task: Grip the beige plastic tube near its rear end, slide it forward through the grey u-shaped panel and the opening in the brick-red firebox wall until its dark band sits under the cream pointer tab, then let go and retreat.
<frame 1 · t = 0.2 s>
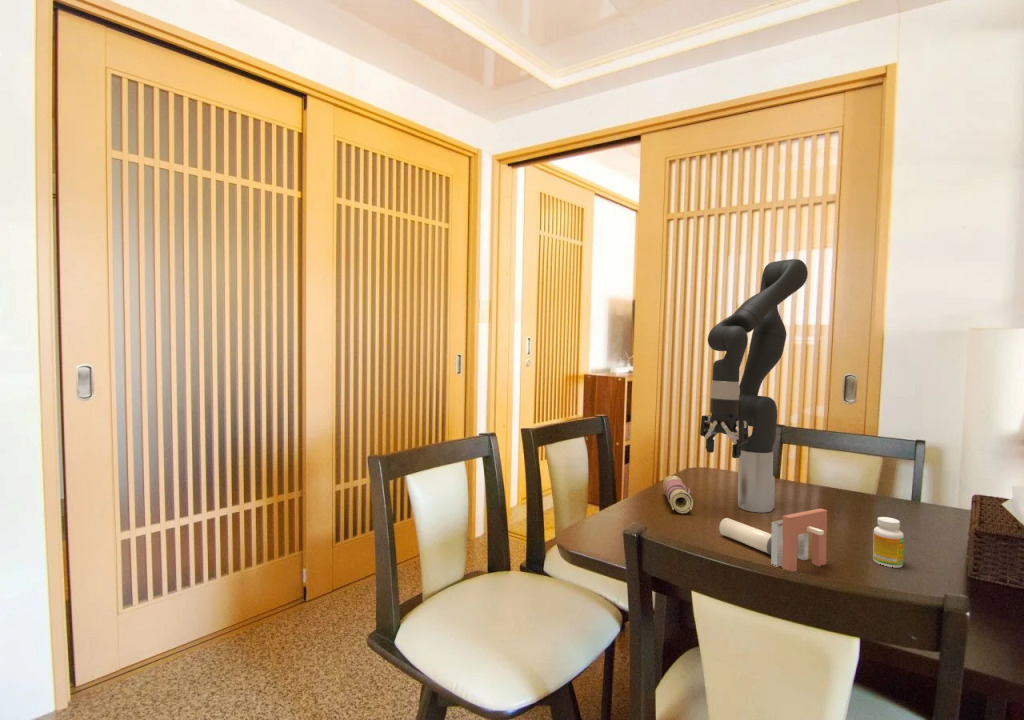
hand: (722, 455, 147), 17 cm above the table, tool pointing down, fingers open, 8 cm apart
supplement bottle: (887, 564, 115), on the table
air tube: (752, 546, 125), on the table
scroll: (678, 506, 157), on the table
firebox wall: (804, 568, 113), on the table
grey u-shaped panel: (789, 562, 116), on the table
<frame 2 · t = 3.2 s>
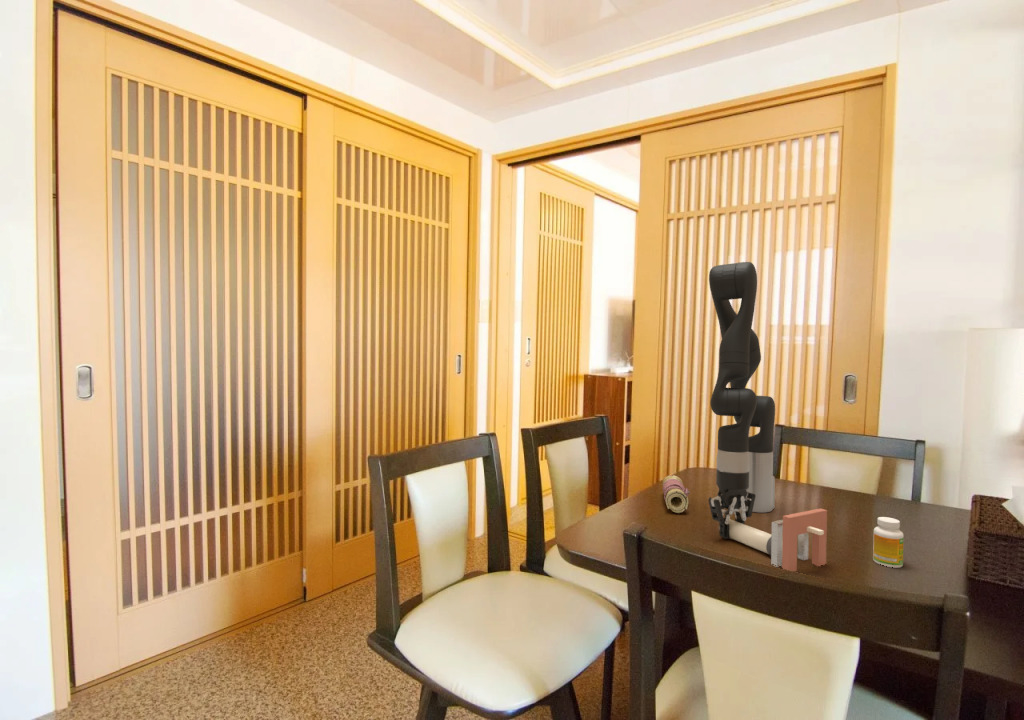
hand: (731, 535, 130), 1 cm above the table, tool pointing down, fingers closed on air tube, 4 cm apart
air tube: (752, 546, 125), on the table, touching gripper
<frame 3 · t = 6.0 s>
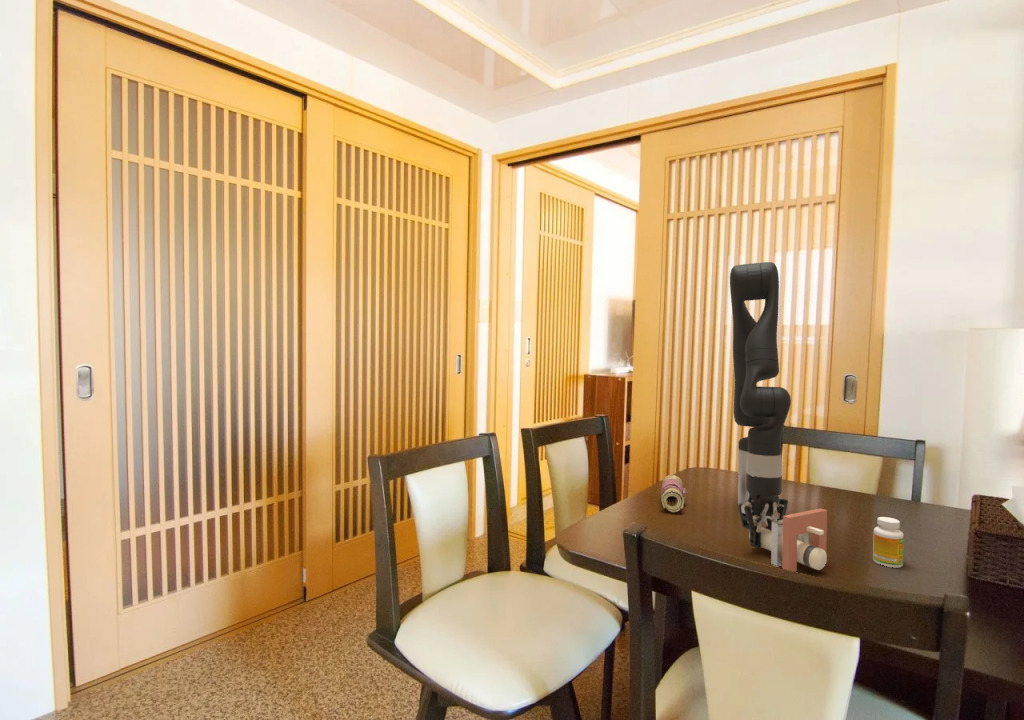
hand: (763, 544, 122), 1 cm above the table, tool pointing down, fingers closed on air tube, 4 cm apart
air tube: (786, 555, 117), point 1 cm above the table, touching gripper
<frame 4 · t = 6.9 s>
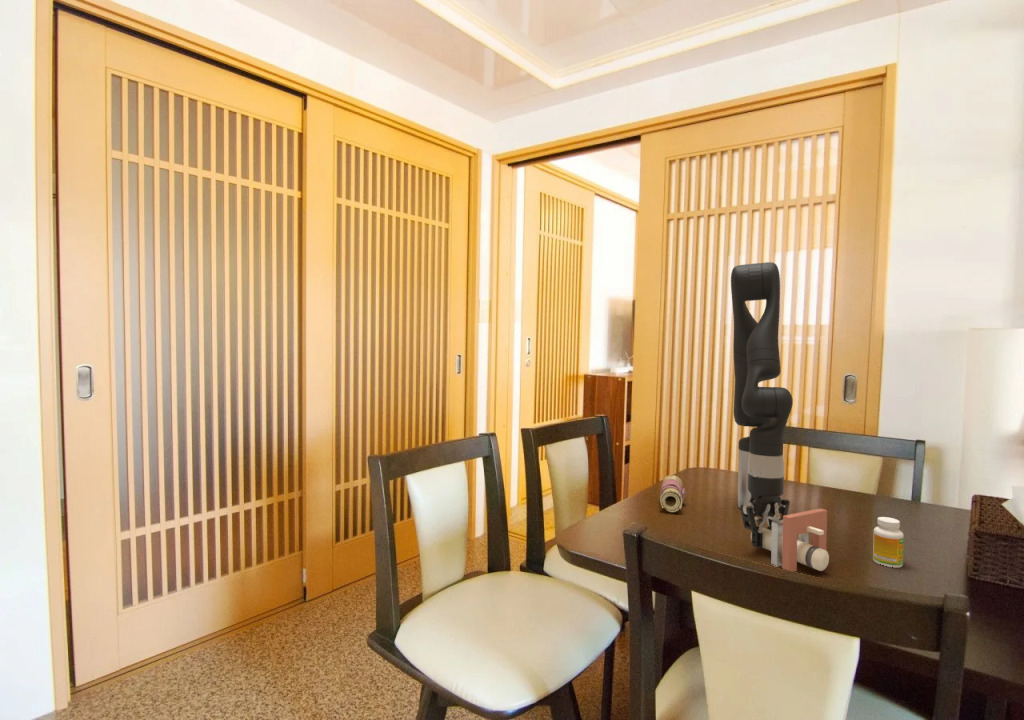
hand: (764, 545, 122), 1 cm above the table, tool pointing down, fingers closed on air tube, 4 cm apart
air tube: (788, 556, 117), point 1 cm above the table, touching gripper
when the fingers open (1 cm above the table, at t = 7.2 s): air tube stays where it is, on the table.
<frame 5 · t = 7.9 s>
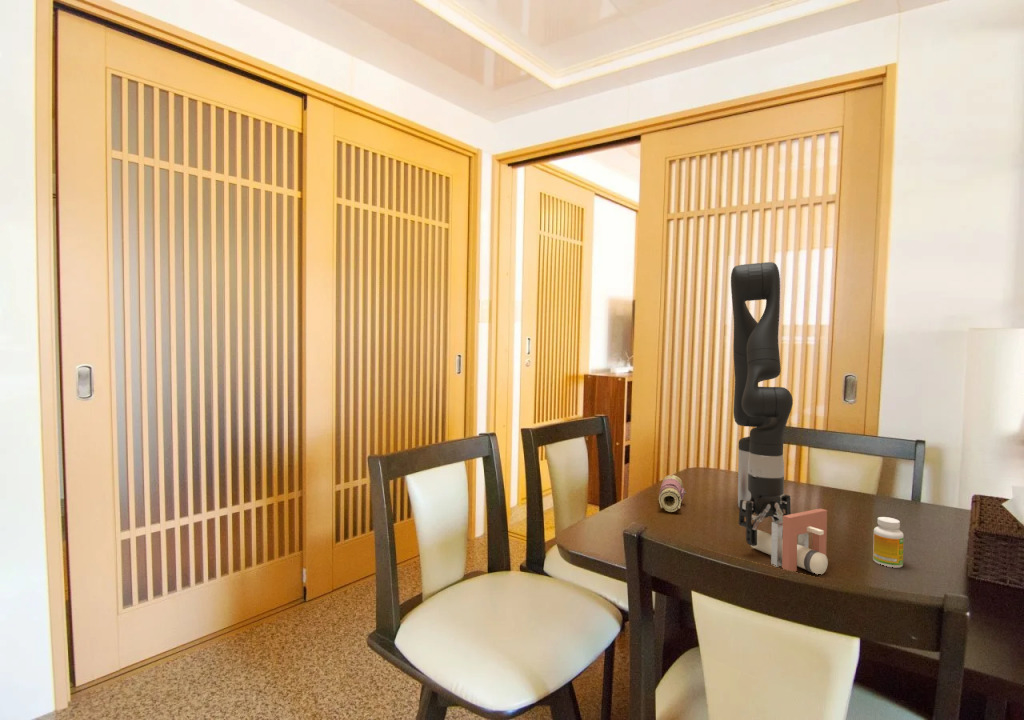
hand: (764, 541, 122), 2 cm above the table, tool pointing down, fingers open, 8 cm apart
air tube: (787, 560, 117), on the table, tilted 9°
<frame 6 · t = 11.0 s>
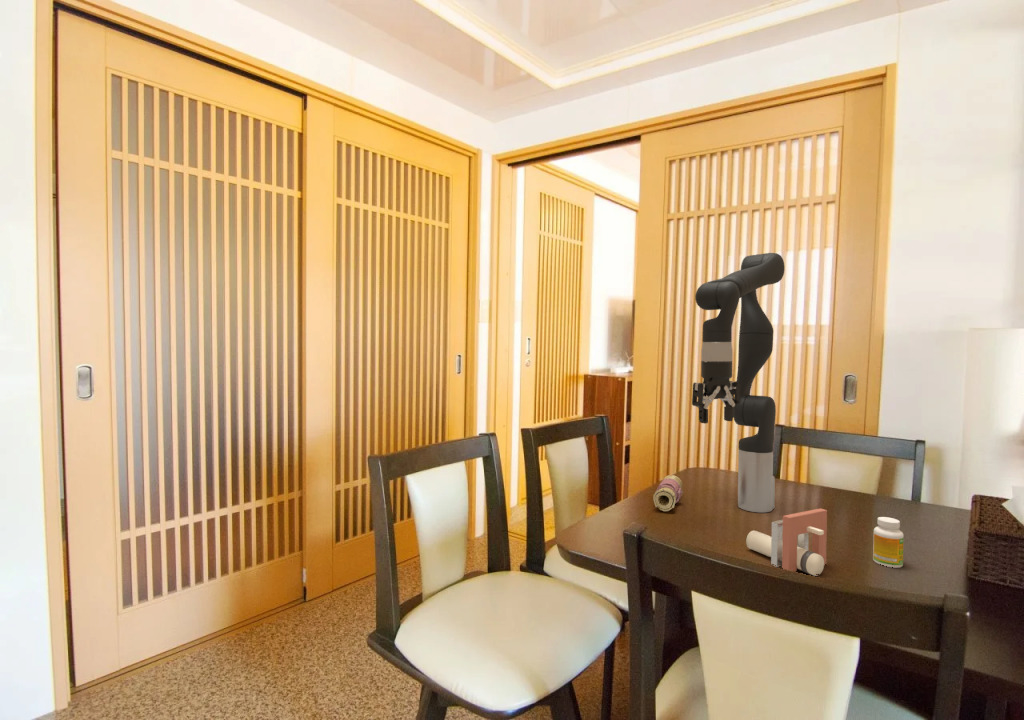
hand: (716, 422, 136), 28 cm above the table, tool pointing down, fingers open, 8 cm apart
air tube: (787, 558, 117), point 1 cm above the table, tilted 38°, touching firebox wall
at the end: air tube 0.2 cm from the target spot, point 0.5 cm above the table; the gripper is holding nothing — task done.
